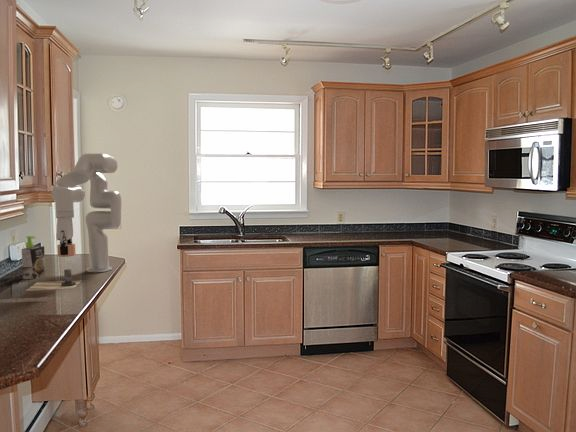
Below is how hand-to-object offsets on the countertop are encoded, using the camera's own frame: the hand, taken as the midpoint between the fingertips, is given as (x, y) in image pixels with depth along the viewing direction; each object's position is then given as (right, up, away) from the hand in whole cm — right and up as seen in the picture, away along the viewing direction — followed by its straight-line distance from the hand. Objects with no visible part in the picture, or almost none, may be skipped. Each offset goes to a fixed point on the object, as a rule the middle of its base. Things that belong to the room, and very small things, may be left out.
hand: (66, 253), depth 240 cm
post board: (-6, -16, +1) cm, 17 cm away
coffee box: (-24, -15, +19) cm, 34 cm away
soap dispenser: (-30, -13, +30) cm, 45 cm away
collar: (0, -1, 0) cm, 1 cm away
